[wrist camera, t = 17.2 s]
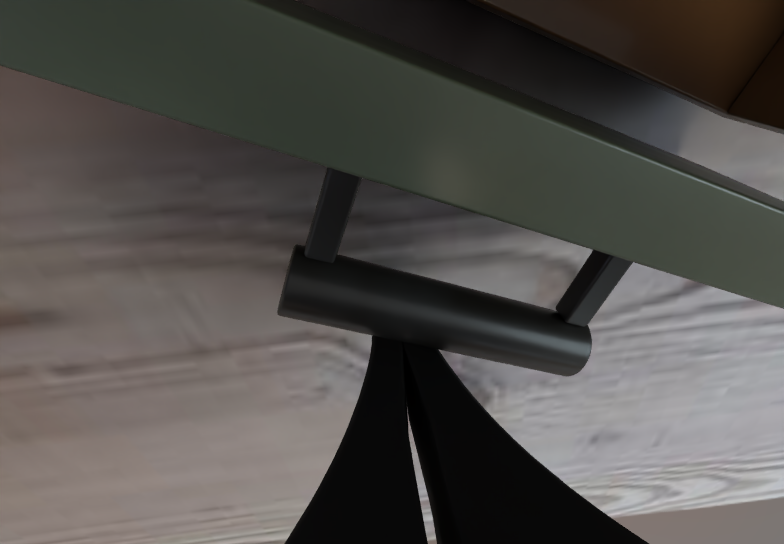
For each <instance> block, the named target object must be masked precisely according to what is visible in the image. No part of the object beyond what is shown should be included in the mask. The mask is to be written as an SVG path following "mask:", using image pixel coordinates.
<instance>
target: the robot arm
mask: <svg viewBox="0 0 784 544" xmlns="http://www.w3.org/2000/svg"><path fill="white" fill-rule="evenodd" d="M407 408H408V415H409V421H410V425H411V429H412V433H413V437H414V441H415V445H416V449H417V453H418V457H419V461H420V465H421V469H422V473H423V477H424V481H425V485H426V489H427V493H428V497H429V502H430V506H431V511H432V516H433V521H434V527H435V534H436V540H437V544H649V543H647V542H646V541H644V540H642V539H641V538H640V537H638V536H637V535H635V534H634V533H632V532H631V531H629V530H628V529H626V528H625V527H623V526H622V525H620V524H619V523H618V522H616V521H615V520H613V519H612V518H611V517H609V516H608V515H606V514H605V513H603V512H602V511H601V510H599V509H598V508H596V507H595V506H594V505H592V504H591V503H590V502H588V501H587V500H586V499H584V498H583V497H582V496H580V495H579V494H578V493H576V492H575V491H574V490H573V489H571V488H570V487H569V486H567V485H566V484H565V483H564V482H563V481H561V480H560V479H559V478H558V477H557V476H555V475H554V474H553V473H552V472H551V471H549V470H548V469H547V468H546V467H545V466H543V465H542V464H541V463H540V462H539V461H537V460H536V459H535V458H534V457H533V456H531V455H530V454H529V453H528V452H527V451H526V450H525V449H524V448H523V447H522V446H521V445H520V444H518V443H517V442H516V441H515V440H514V439H513V438H512V437H511V436H510V435H509V434H508V433H507V432H506V431H505V430H504V429H503V428H502V427H501V426H500V425H499V424H498V423H497V422H496V421H495V420H494V419H493V418H492V417H491V416H490V415H489V413H488V412H487V411H486V410H485V409H484V408H483V407H482V406H481V404H480V403H479V402H478V401H477V400H476V399H475V398H474V396H473V395H472V394H471V393H470V392H469V390H468V389H467V388H466V387H465V386H464V384H463V383H462V382H461V380H460V379H459V378H458V376H457V375H456V374H455V373H454V371H453V370H452V369H451V367H450V366H449V364H448V363H447V362H446V360H445V359H444V357H443V356H442V354H441V353H440V351H439V350H438V349H434V348H430V347H425V346H420V345H415V344H411V343H406V342H401V341H397V340H392V339H387V338H382V337H378V336H372V347H371V354H370V359H369V364H368V368H367V372H366V376H365V379H364V382H363V386H362V389H361V393H360V396H359V399H358V401H357V404H356V407H355V409H354V412H353V415H352V417H351V420H350V423H349V425H348V428H347V430H346V432H345V435H344V437H343V439H342V442H341V444H340V446H339V448H338V450H337V452H336V455H335V457H334V459H333V461H332V463H331V465H330V467H329V469H328V471H327V472H326V474H325V476H324V478H323V480H322V482H321V484H320V486H319V488H318V489H317V491H316V493H315V495H314V497H313V498H312V500H311V502H310V503H309V505H308V507H307V508H306V510H305V512H304V513H303V515H302V516H301V518H300V520H299V521H298V523H297V525H296V526H295V528H294V529H293V531H292V533H291V534H290V536H289V537H288V539H287V541H286V542H285V544H428V543H427V537H426V532H425V526H424V521H423V515H422V510H421V504H420V499H419V493H418V488H417V482H416V476H415V471H414V465H413V459H412V453H411V447H410V441H409V433H408V415H407Z"/></svg>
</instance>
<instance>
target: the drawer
mask: <svg viewBox="0 0 784 544" xmlns="http://www.w3.org/2000/svg"><path fill="white" fill-rule="evenodd" d="M465 1H468V2H470V3H472V4H474V5H477V6H479V7H481V8H483V9H485V10H488V11H490V12H492V13H494V14H496V15H499V16H501V17H503V18H505V19H507V20H510V21H512V22H514V23H516V24H519V25H521V26H523V27H525V28H527V29H530V30H532V31H534V32H536V33H538V34H541V35H543V36H545V37H547V38H549V39H552V40H554V41H556V42H558V43H561V44H563V45H565V46H567V47H569V48H572V49H574V50H576V51H578V52H580V53H583V54H585V55H587V56H589V57H592V58H594V59H596V60H598V61H600V62H603V63H605V64H607V65H609V66H611V67H614V68H616V69H618V70H620V71H622V72H625V73H627V74H629V75H631V76H634V77H636V78H638V79H640V80H642V81H645V82H647V83H649V84H651V85H653V86H656V87H658V88H660V89H662V90H664V91H667V92H669V93H671V94H673V95H676V96H678V97H680V98H682V99H684V100H687V101H689V102H691V103H693V104H695V105H698V106H700V107H702V108H704V109H706V110H709V111H711V112H713V113H715V114H718V115H720V116H722V117H724V118H728V119H731V120H735V121H739V122H742V123H747V124H749V125H753V126H756V127H760V128H763V129H767V130H770V131H774V132H777V133H781V134H784V0H465ZM0 66H4V67H7V68H10V69H13V70H16V71H20V72H23V73H26V74H29V75H33V76H36V77H39V78H42V79H45V80H49V81H52V82H55V83H58V84H62V85H65V86H68V87H71V88H74V89H78V90H81V91H84V92H87V93H91V94H94V95H97V96H100V97H103V98H107V99H110V100H113V101H116V102H120V103H123V104H126V105H129V106H132V107H136V108H139V109H142V110H145V111H149V112H152V113H155V114H158V115H161V116H165V117H168V118H171V119H174V120H178V121H181V122H184V123H187V124H190V125H194V126H197V127H200V128H203V129H206V130H210V131H213V132H216V133H219V134H223V135H226V136H229V137H232V138H235V139H239V140H242V141H245V142H248V143H252V144H255V145H258V146H261V147H264V148H268V149H271V150H274V151H277V152H281V153H284V154H287V155H290V156H293V157H297V158H300V159H303V160H306V161H310V162H313V163H316V164H319V165H322V166H326V167H327V170H326V174H325V177H324V181H323V184H322V188H321V191H320V195H319V198H318V202H317V205H316V209H315V212H314V216H313V219H312V223H311V226H310V230H309V233H308V237H307V240H306V245H305V246H303V245H299V244H295V246H294V248H293V251H292V254H291V258H290V262H289V265H288V269H287V273H286V277H285V281H284V285H283V289H282V293H281V297H280V301H279V306H278V311H277V313H278V315H279V316H283V317H288V318H293V319H298V320H302V321H307V322H312V323H316V324H321V325H326V326H331V327H335V328H340V329H345V330H349V331H354V332H359V333H364V334H368V335H373V336H378V337H382V338H387V339H392V340H397V341H401V342H406V343H411V344H415V345H420V346H425V347H430V348H434V349H439V350H444V351H448V352H453V353H458V354H463V355H467V356H472V357H477V358H481V359H486V360H491V361H495V362H500V363H505V364H510V365H514V366H519V367H524V368H528V369H533V370H538V371H543V372H547V373H552V374H557V375H561V376H572V375H574V374H577V373H578V372H579V371H581V370H582V368H583V367H584V366H585V364H586V363H587V361H588V359H589V356H590V353H591V346H592V339H591V333H590V330H589V327H588V323H589V322H590V320H591V319H592V318H593V316H594V315H595V314H596V312H597V311H598V309H599V308H600V307H601V305H602V304H603V303H604V301H605V300H606V298H607V297H608V296H609V294H610V293H611V292H612V290H613V289H614V287H615V286H616V285H617V283H618V282H619V281H620V279H621V278H622V276H623V275H624V274H625V272H626V271H627V270H628V268H629V267H630V265H631V264H632V263H633V262H635V263H638V264H641V265H644V266H648V267H651V268H654V269H657V270H661V271H664V272H667V273H670V274H673V275H677V276H680V277H683V278H686V279H690V280H693V281H696V282H699V283H702V284H706V285H709V286H712V287H715V288H719V289H722V290H725V291H728V292H731V293H735V294H738V295H741V296H744V297H748V298H751V299H754V300H757V301H760V302H764V303H767V304H770V305H773V306H777V307H780V308H783V309H784V201H782V200H779V199H777V198H775V197H772V196H770V195H768V194H766V193H763V192H761V191H759V190H756V189H754V188H752V187H750V186H747V185H745V184H743V183H740V182H738V181H736V180H733V179H731V178H729V177H727V176H724V175H722V174H720V173H717V172H715V171H713V170H711V169H708V168H706V167H704V166H701V165H699V164H696V163H694V162H691V161H689V160H687V159H684V158H682V157H679V156H677V155H674V154H672V153H669V152H667V151H664V150H662V149H659V148H657V147H654V146H652V145H649V144H647V143H645V142H642V141H640V140H637V139H635V138H632V137H630V136H627V135H625V134H622V133H620V132H617V131H615V130H612V129H610V128H608V127H605V126H603V125H600V124H598V123H595V122H593V121H590V120H588V119H585V118H583V117H580V116H578V115H575V114H573V113H571V112H568V111H566V110H563V109H561V108H558V107H556V106H553V105H551V104H548V103H546V102H543V101H541V100H538V99H536V98H534V97H531V96H529V95H526V94H524V93H521V92H519V91H516V90H514V89H511V88H509V87H506V86H504V85H501V84H499V83H497V82H494V81H492V80H489V79H487V78H484V77H482V76H479V75H477V74H474V73H472V72H469V71H467V70H464V69H462V68H459V67H457V66H455V65H452V64H450V63H447V62H445V61H442V60H440V59H437V58H435V57H432V56H430V55H427V54H425V53H422V52H420V51H418V50H415V49H413V48H410V47H408V46H405V45H403V44H400V43H398V42H395V41H393V40H390V39H388V38H385V37H383V36H381V35H378V34H376V33H373V32H371V31H368V30H366V29H363V28H361V27H358V26H356V25H353V24H351V23H348V22H346V21H344V20H341V19H339V18H336V17H334V16H331V15H329V14H326V13H324V12H321V11H319V10H316V9H314V8H311V7H309V6H307V5H304V4H302V3H299V2H297V1H294V0H0ZM362 178H364V179H368V180H371V181H374V182H377V183H380V184H384V185H387V186H390V187H393V188H397V189H400V190H403V191H406V192H409V193H413V194H416V195H419V196H422V197H425V198H429V199H432V200H435V201H438V202H442V203H445V204H448V205H451V206H454V207H458V208H461V209H464V210H467V211H471V212H474V213H477V214H480V215H483V216H487V217H490V218H493V219H496V220H500V221H503V222H506V223H509V224H512V225H516V226H519V227H522V228H525V229H529V230H532V231H535V232H538V233H541V234H545V235H548V236H551V237H554V238H558V239H561V240H564V241H567V242H570V243H574V244H577V245H580V246H583V247H587V248H590V249H593V251H592V253H591V254H590V256H589V258H588V259H587V261H586V262H585V264H584V265H583V267H582V268H581V270H580V271H579V273H578V274H577V276H576V277H575V279H574V280H573V282H572V283H571V285H570V286H569V288H568V289H567V291H566V292H565V294H564V295H563V297H562V298H561V300H560V301H559V303H558V304H557V306H556V310H557V311H555V310H551V309H547V308H543V307H539V306H536V305H532V304H528V303H524V302H520V301H516V300H512V299H508V298H505V297H501V296H497V295H493V294H489V293H485V292H481V291H477V290H474V289H470V288H466V287H462V286H458V285H454V284H450V283H446V282H443V281H439V280H435V279H431V278H427V277H423V276H419V275H415V274H412V273H408V272H404V271H400V270H396V269H392V268H388V267H384V266H381V265H377V264H373V263H369V262H365V261H361V260H357V259H353V258H350V257H346V256H342V255H338V254H337V252H338V249H339V246H340V243H341V240H342V237H343V234H344V231H345V228H346V225H347V222H348V219H349V216H350V213H351V210H352V207H353V204H354V200H355V197H356V194H357V191H358V188H359V185H360V182H361V179H362Z"/></svg>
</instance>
